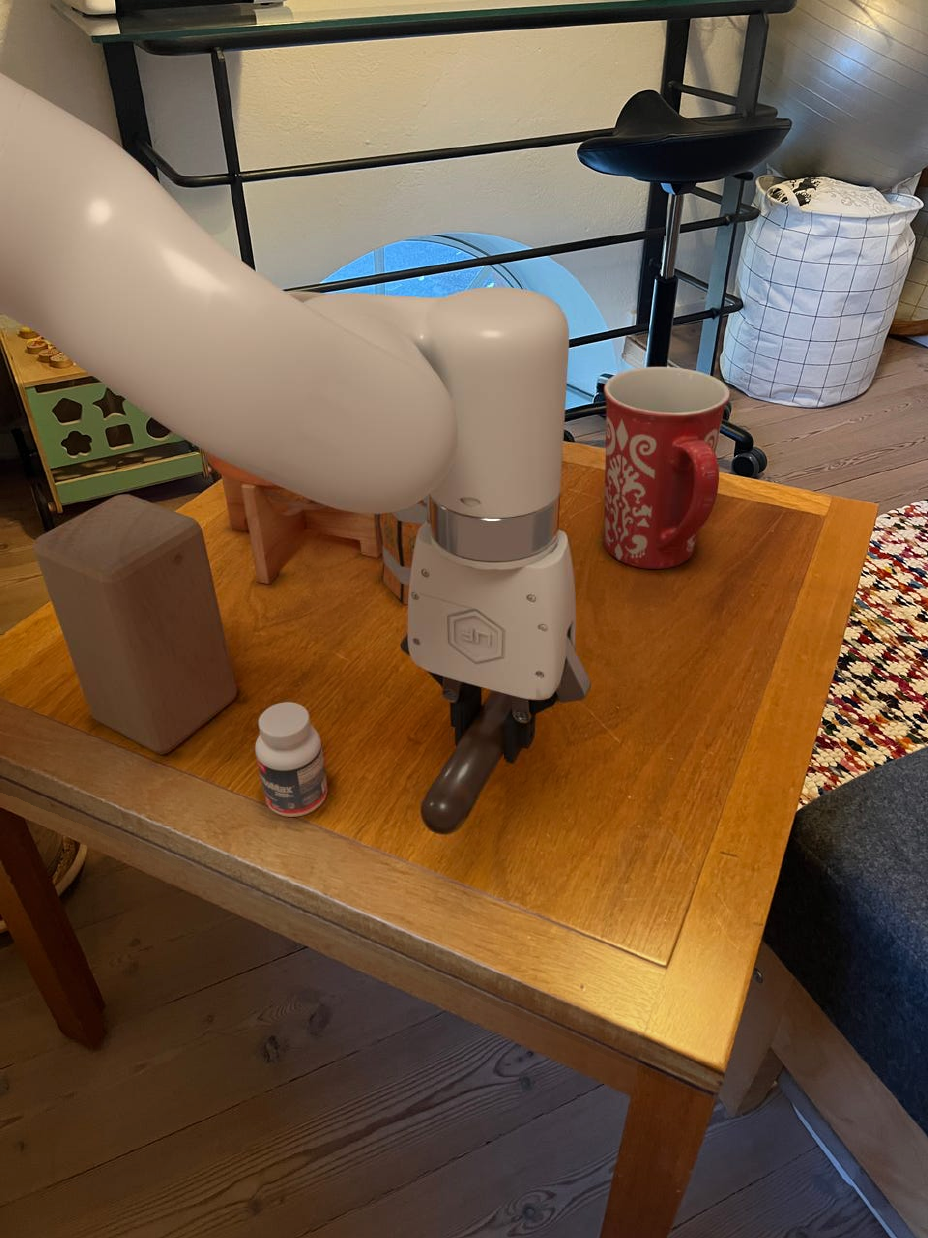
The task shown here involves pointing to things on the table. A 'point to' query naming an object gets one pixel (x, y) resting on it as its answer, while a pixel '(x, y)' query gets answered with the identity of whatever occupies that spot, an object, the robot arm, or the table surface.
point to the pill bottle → (290, 760)
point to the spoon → (467, 768)
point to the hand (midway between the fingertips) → (492, 740)
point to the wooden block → (139, 619)
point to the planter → (286, 512)
